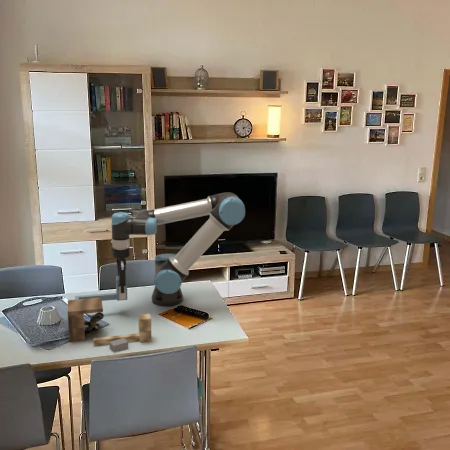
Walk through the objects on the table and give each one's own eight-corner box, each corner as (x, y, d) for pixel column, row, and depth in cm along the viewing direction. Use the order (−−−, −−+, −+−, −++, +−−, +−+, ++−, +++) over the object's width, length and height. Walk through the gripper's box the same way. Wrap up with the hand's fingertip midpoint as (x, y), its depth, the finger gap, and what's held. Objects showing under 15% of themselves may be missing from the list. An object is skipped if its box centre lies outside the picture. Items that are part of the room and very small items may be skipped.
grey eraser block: (123, 344, 198) (123, 337, 197) (128, 348, 194) (128, 341, 194) (109, 348, 194) (109, 341, 193) (114, 353, 191) (113, 345, 190)
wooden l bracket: (102, 325, 213) (101, 297, 210) (104, 338, 202) (102, 308, 199) (69, 328, 209) (67, 300, 206) (69, 342, 198) (67, 311, 195)
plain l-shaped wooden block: (149, 336, 205) (149, 313, 202) (151, 341, 200) (151, 318, 198) (93, 342, 198) (92, 319, 196) (94, 347, 194) (92, 324, 192)
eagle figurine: (101, 331, 206) (108, 318, 214) (91, 318, 203) (98, 306, 212) (87, 338, 208) (95, 325, 216) (77, 326, 206) (84, 313, 214)
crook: (126, 296, 227) (126, 275, 225) (129, 306, 216) (128, 285, 213) (75, 300, 221) (74, 278, 218) (75, 311, 209) (74, 289, 207)
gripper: (110, 242, 225) (112, 290, 231) (113, 253, 209) (115, 305, 215) (127, 241, 228) (128, 289, 233) (131, 253, 211) (132, 303, 217)
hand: (121, 296), depth 224 cm, fingers closed on crook, 4 cm apart
